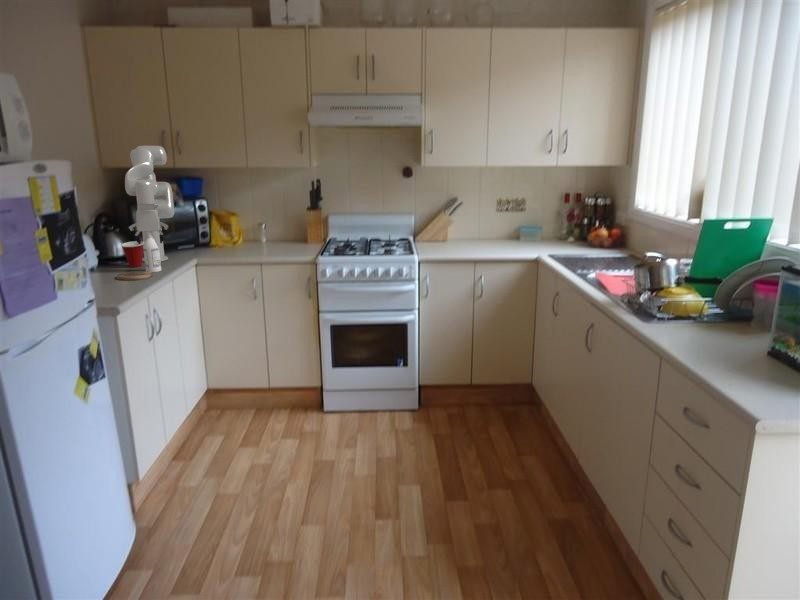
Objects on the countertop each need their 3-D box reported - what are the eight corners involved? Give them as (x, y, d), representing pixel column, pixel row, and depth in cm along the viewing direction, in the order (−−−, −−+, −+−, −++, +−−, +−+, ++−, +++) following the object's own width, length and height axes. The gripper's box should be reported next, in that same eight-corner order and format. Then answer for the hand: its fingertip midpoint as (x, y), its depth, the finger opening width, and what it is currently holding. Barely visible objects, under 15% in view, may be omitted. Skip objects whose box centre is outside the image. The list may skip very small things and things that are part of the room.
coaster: (119, 274, 261) (119, 271, 260) (154, 272, 265) (153, 269, 265) (114, 281, 247) (114, 278, 247) (150, 279, 251) (150, 276, 251)
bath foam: (163, 269, 272) (159, 229, 266) (158, 272, 265) (154, 231, 260) (148, 269, 271) (144, 229, 266) (143, 272, 264) (139, 231, 259)
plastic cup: (118, 267, 275) (115, 243, 272) (136, 263, 285) (133, 240, 282) (134, 269, 271) (131, 245, 268) (151, 265, 281) (149, 242, 277)
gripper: (166, 206, 266) (170, 241, 270) (127, 207, 261) (132, 242, 265) (165, 207, 259) (169, 243, 263) (125, 208, 254) (129, 245, 258)
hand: (150, 243), depth 264 cm, fingers open, 9 cm apart
